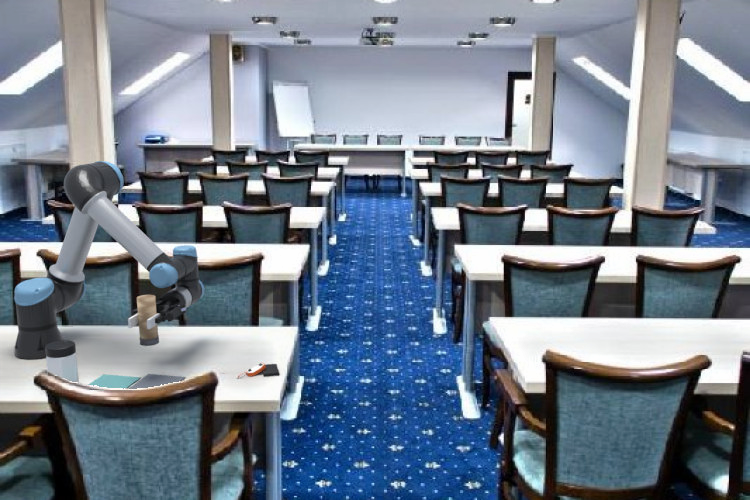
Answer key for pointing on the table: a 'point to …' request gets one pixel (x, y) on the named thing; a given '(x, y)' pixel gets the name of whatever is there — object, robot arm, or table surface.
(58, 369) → the jar
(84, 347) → the table surface
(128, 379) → the teal seat
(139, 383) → the slate seat
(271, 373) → the multimeter
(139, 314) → the banded sleeve
